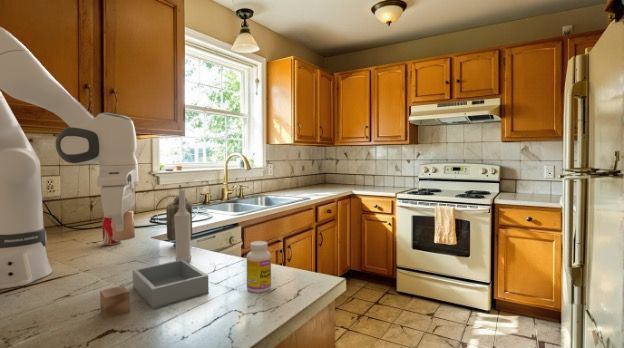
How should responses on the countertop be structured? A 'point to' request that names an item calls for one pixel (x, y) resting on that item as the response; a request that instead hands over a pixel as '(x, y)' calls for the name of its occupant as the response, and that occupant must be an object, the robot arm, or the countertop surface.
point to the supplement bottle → (258, 267)
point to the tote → (169, 283)
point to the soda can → (108, 232)
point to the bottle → (182, 230)
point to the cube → (114, 301)
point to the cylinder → (129, 227)
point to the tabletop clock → (170, 213)
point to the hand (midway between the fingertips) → (122, 228)
